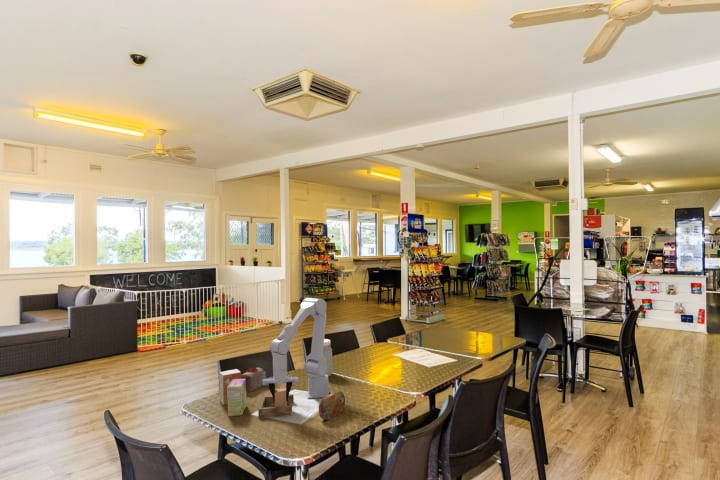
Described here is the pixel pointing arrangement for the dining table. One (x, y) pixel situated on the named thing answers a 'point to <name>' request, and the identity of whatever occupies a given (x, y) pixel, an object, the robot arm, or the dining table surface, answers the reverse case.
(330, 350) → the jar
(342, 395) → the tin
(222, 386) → the small box
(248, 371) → the food item
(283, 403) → the block
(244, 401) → the box
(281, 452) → the dining table surface
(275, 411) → the open box
